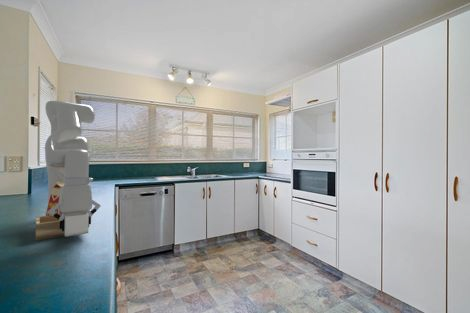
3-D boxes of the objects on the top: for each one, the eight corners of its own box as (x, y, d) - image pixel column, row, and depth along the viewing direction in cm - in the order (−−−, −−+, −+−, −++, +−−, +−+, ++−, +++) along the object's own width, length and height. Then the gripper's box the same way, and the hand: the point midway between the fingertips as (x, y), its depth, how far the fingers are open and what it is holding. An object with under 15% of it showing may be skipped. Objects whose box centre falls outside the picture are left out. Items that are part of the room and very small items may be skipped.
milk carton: (59, 227, 98) (60, 182, 98) (43, 225, 100) (43, 181, 100) (78, 221, 107) (78, 180, 107) (62, 220, 109) (63, 179, 109)
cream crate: (63, 230, 85) (63, 212, 85) (84, 226, 90) (85, 209, 90) (64, 237, 79) (65, 217, 79) (88, 232, 83) (88, 214, 83)
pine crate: (36, 231, 92) (36, 217, 92) (80, 224, 102) (80, 211, 102) (35, 241, 81) (35, 224, 81) (84, 232, 91) (84, 217, 91)
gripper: (100, 179, 93) (100, 221, 93) (46, 182, 81) (45, 230, 81) (104, 181, 87) (103, 226, 87) (46, 184, 76) (45, 236, 76)
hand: (75, 228), depth 84 cm, fingers closed on cream crate, 7 cm apart
